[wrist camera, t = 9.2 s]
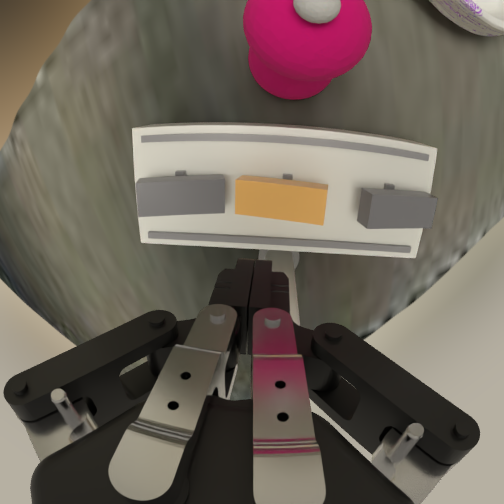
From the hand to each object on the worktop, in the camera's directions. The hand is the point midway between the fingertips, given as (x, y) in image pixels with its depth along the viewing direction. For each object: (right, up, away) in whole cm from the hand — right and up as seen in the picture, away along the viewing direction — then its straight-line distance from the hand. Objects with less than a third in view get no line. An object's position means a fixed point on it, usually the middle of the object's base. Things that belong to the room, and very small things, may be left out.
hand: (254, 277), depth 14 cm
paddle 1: (-6, +6, +12) cm, 14 cm away
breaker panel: (+3, +8, +17) cm, 19 cm away
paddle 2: (+12, +5, +11) cm, 17 cm away
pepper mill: (+3, +19, +12) cm, 22 cm away
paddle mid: (+2, +6, +11) cm, 13 cm away
